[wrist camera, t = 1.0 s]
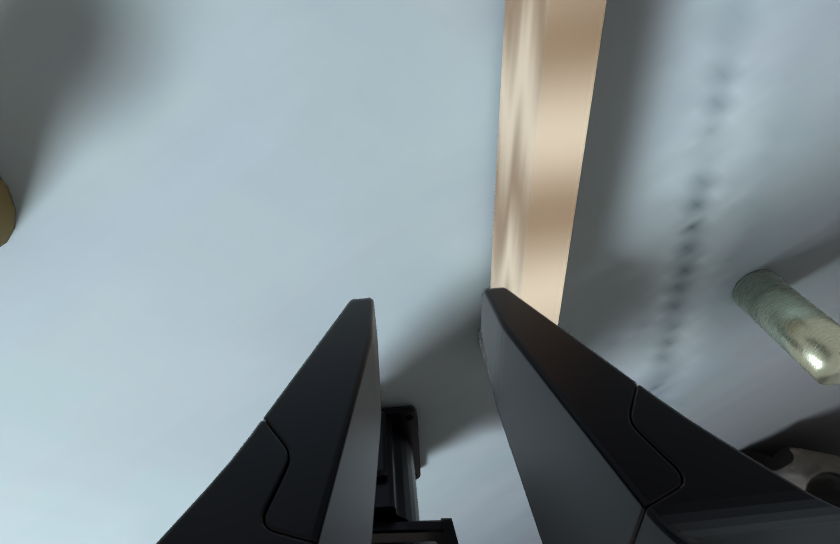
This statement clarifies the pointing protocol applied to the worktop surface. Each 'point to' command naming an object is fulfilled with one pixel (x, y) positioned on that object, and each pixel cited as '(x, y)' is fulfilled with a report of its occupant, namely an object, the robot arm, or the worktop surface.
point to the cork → (6, 214)
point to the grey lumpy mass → (806, 471)
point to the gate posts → (786, 324)
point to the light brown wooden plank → (542, 143)
